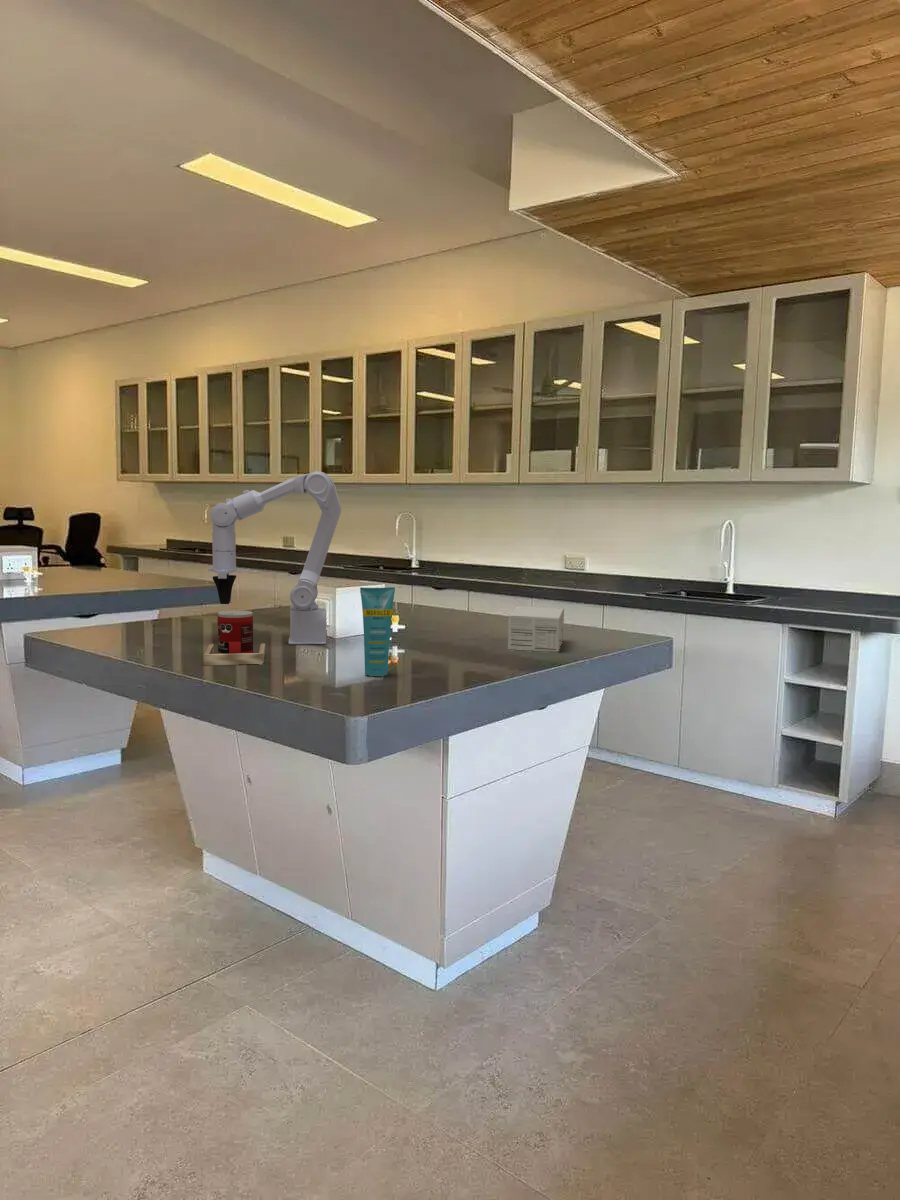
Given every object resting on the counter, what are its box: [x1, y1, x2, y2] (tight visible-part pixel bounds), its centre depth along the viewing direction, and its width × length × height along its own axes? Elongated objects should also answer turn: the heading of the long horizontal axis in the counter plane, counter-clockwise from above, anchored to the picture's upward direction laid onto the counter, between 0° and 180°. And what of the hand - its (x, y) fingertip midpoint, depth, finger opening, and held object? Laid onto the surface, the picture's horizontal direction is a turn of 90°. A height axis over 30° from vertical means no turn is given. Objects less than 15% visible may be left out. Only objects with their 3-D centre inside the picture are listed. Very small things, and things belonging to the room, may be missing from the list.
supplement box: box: [507, 605, 565, 652], centre depth 222 cm, size 17×13×9 cm
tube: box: [359, 586, 396, 677], centre depth 183 cm, size 7×5×19 cm, turn 106°
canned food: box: [216, 609, 254, 654], centre depth 197 cm, size 8×8×11 cm
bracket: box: [203, 643, 266, 666], centre depth 198 cm, size 13×13×2 cm
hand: (224, 603), depth 218 cm, fingers closed
